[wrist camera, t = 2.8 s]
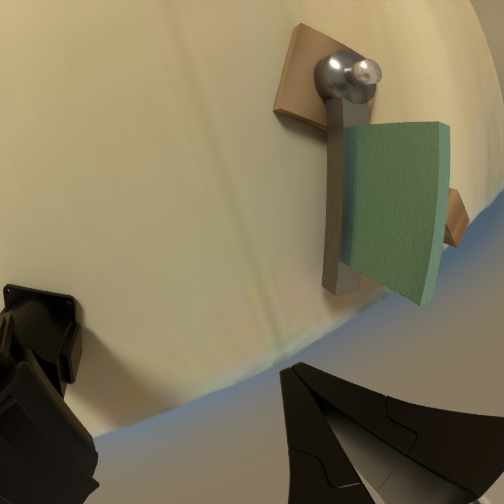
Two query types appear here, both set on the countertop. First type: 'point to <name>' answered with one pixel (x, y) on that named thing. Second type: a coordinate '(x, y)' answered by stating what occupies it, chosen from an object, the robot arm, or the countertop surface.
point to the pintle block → (306, 77)
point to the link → (380, 187)
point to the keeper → (455, 219)
